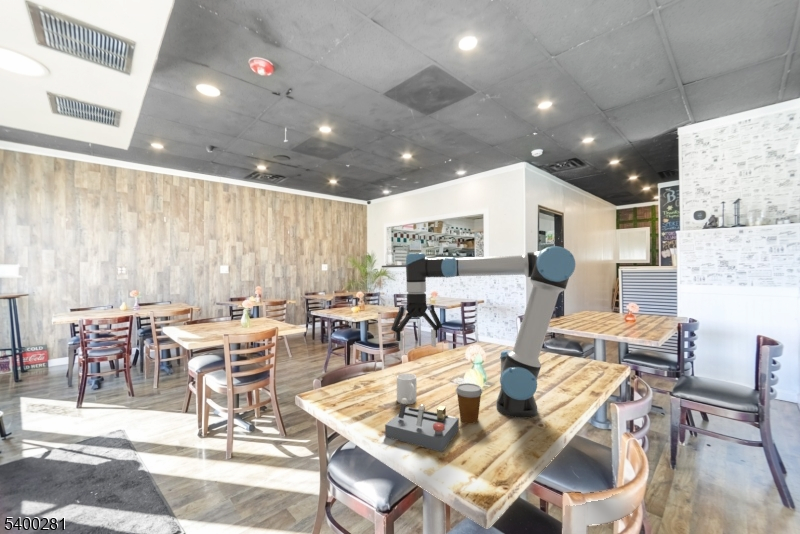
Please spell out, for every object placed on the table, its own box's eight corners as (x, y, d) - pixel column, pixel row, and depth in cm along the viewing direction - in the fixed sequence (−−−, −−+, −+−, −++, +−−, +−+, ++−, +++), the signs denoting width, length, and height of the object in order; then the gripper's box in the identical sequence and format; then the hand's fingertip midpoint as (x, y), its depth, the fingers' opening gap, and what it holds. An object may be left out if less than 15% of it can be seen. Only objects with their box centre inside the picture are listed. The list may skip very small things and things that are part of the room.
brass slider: (445, 417, 115) (445, 406, 115) (442, 420, 112) (442, 410, 112) (440, 415, 116) (440, 405, 116) (437, 419, 113) (437, 408, 113)
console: (458, 429, 115) (458, 416, 115) (442, 452, 101) (442, 436, 101) (407, 417, 124) (407, 405, 124) (385, 436, 110) (385, 422, 110)
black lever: (404, 419, 114) (409, 399, 117) (402, 418, 112) (406, 398, 115) (399, 417, 115) (403, 398, 118) (396, 416, 113) (401, 396, 116)
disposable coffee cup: (477, 428, 116) (477, 393, 116) (451, 421, 121) (451, 388, 121) (485, 418, 124) (485, 385, 124) (461, 412, 129) (461, 381, 129)
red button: (446, 432, 105) (446, 424, 105) (442, 437, 102) (442, 429, 102) (435, 430, 106) (435, 421, 106) (431, 434, 103) (431, 426, 103)
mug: (423, 406, 135) (423, 381, 135) (404, 409, 132) (404, 383, 132) (411, 396, 146) (411, 372, 146) (394, 398, 143) (393, 374, 143)
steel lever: (423, 427, 108) (426, 405, 110) (420, 426, 106) (424, 405, 109) (417, 425, 109) (420, 404, 111) (414, 425, 107) (418, 403, 110)
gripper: (441, 291, 137) (442, 343, 136) (382, 293, 129) (383, 348, 129) (449, 292, 130) (451, 346, 129) (388, 294, 122) (389, 353, 121)
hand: (417, 347), depth 129 cm, fingers open, 13 cm apart
